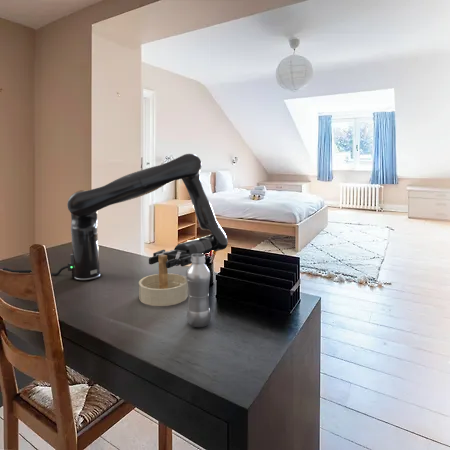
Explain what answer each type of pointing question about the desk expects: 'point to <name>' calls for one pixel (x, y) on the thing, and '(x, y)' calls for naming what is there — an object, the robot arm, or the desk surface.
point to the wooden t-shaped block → (163, 272)
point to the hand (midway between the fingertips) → (158, 263)
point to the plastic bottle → (198, 292)
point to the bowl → (163, 290)
